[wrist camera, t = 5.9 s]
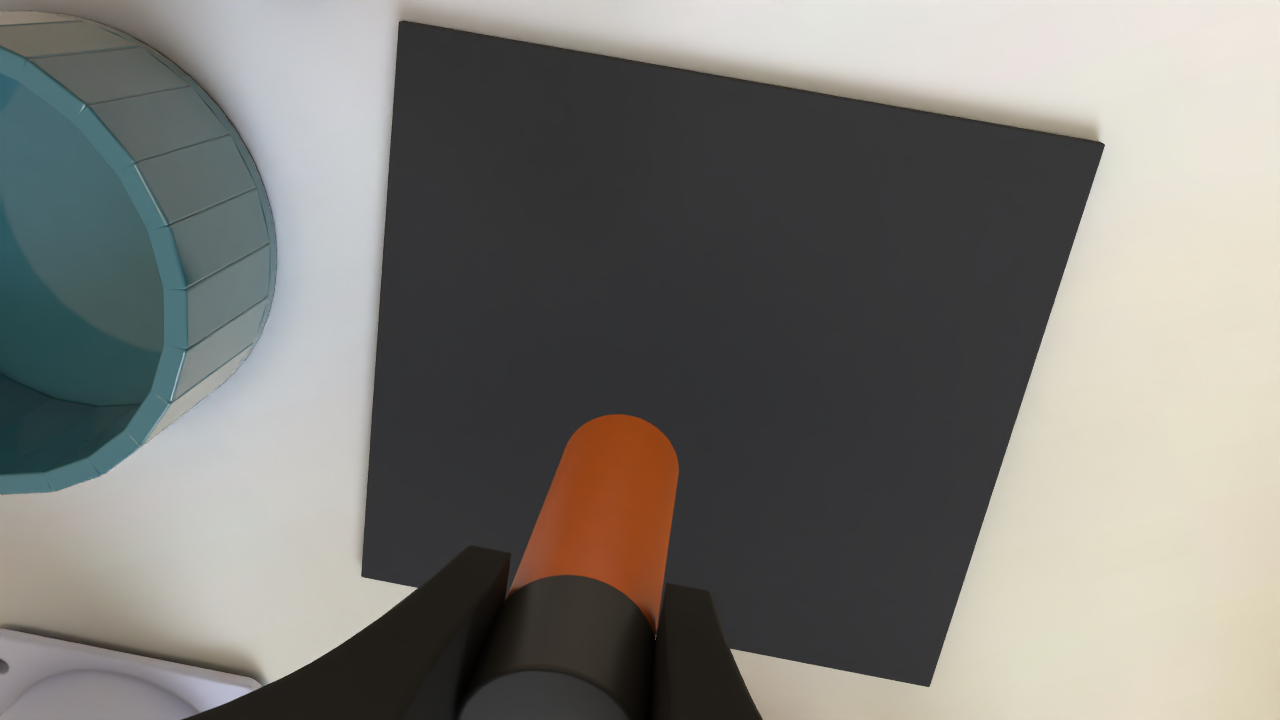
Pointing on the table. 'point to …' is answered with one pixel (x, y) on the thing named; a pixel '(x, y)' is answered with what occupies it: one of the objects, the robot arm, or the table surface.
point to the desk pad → (712, 327)
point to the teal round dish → (115, 248)
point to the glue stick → (585, 586)
